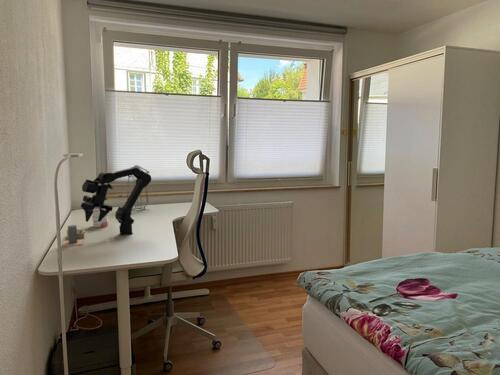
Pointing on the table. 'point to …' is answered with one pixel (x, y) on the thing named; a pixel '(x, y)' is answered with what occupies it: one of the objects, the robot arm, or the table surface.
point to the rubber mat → (66, 243)
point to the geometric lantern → (140, 193)
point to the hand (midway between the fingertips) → (92, 221)
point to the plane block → (80, 233)
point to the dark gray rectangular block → (72, 234)
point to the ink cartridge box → (95, 219)
